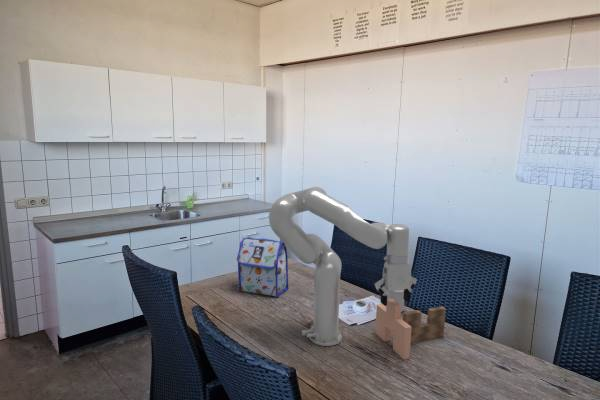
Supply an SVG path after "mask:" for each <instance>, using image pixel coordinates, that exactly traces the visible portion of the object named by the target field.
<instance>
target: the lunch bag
mask: <svg viewBox="0 0 600 400" xmlns="http://www.w3.org/2000/svg"><path fill="white" fill-rule="evenodd" d="M287 251H288V250H287V246H286V245H285V243H284V242H283V241H281V240H279V241H278V240H275V239H268V238H254V237H250V236H248V237H243V238H242V240H240V242H239V249H238V252H237V257H236V261H237V271H238V272H237V273H238V274H237V275H238V291H239V292H244V291H245V292H246V293H251V292H252V293H251V294H260V295H265V296H271V297H276V298H279V297H280V295H282V294H283V293H284V292H285V291H287V290H289V288H290V287H289V269H288V268H289V264H288V261H289V260H288V252H287Z"/></svg>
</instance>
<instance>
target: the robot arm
mask: <svg viewBox="0 0 600 400" xmlns="http://www.w3.org/2000/svg"><path fill="white" fill-rule="evenodd" d="M307 211H308V212H310V213H311V214H313V215H315V216H317V217H319V218H320V219H323V220H325V221H327V222H329V223H331V224H332V225H334V226H336V227H337V228H339V230H341V231H342V232H344V233H346V234H347V235H348V236H350V237H351V238H353V239H354V240H356V241H358V242H359V243H360V244H363V245H365V246H366V247H369V248H372V249H375V250H376V249H377V250H378V249H382V248H384V247H385V246H386V256H383V260H384V261H385V262H384V264H383V270H382V277H381V279H380V280H378V281H376V282H375V283H374V287H375V289H376V290H377V292H378V293H379V294H380V304H383V305H384V306H387V297H388V291H397V290H404V298H403V299H404V302H406V303H410V302H411V293H412V292H413V289H414V288H415V286H416V284H417V281H418V279H417V278H415V277H413V276H412V268H411V263H410V261H409V239H410V238H409V237H410V228H409V227H408V226H407V225H404V224H398V223H397V224H389V223H385V222H371V223H370V222H368V221H366V220H364V219H363V218H361V217H360V216H359V215H358V214H356V212H354V210H353V209H352V208H351V207H350V206H349V205H348V204H345V203H343V202H342V201H340V200H338V199H336V198H334V197H332V196H330V195H329V194H327V192H326V190H324V188H322V187H319V186H312V187H309V188H306V189H302V190H297V191H294V192H291V193H287V194H284V195H282V196H280V197H279V198H278V199H276V200H275V201H274V202H273V204H272V205H271V208H270V210H269V214H268V221H269V222H268V223H269V226H270V228H271V231H272V232H273V233H274V234H275V235H276V236H277V237H278V238H279V240H280V241H281V242H284V243H285V246H286V248H288V249H289V250H290V251H291V252H292V253H293V254H294V256H296V258H297V259H298V260H299V261H301V263H303V264H305V265H311V264H313V265H315V268H314V269H315V270H314V274H313V281H314V284H313V285H314V286H313V287H314V288H313V289H314V293H313V294H314V295H313V296H314V297H313V305H314V306H313V309H314V310H313V325H310V328H308V329H303V330H301V333H300V334H301V336H303V337H304V336H306V338H309V340H310V341H311V342H312V343H313V344H315V345H318V346H324V347H331V346H335V345H336V346H337V345H338V344H340V343H341V342H342V340H343V335H342V334H341V332H340V331H339V319H340V318H339V317H340V316H339V314H340V289H341V287H340V284H341V281H340V280H341V272H342V260H341V258H340V257H339V255H338V254H337V253H336V252H335V251H334V250H333V249H332V248H331V247H330V246H329V245H328V244H327V242H325V241H324V240H323V238H321V237H320V236H319V235H317V234H316V233H315V234H314V233H306V232H305V231H304V229H302V228H301V226H299V225H298V224H296V223H295V222H294V220H293V217H294V216H295V215H296V214H300V213H304V212H307ZM381 286H382V287H381Z"/></svg>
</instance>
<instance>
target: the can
mask: <svg viewBox="0 0 600 400" xmlns="http://www.w3.org/2000/svg"><path fill="white" fill-rule="evenodd" d="M403 298H404V290H397V291H388V293H387V300H389V299H393V300H395V301H396V302H397V303H399V304H400V305H401V313H402V312H404V310H405V300H404V299H403Z"/></svg>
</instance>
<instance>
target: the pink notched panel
mask: <svg viewBox="0 0 600 400" xmlns="http://www.w3.org/2000/svg"><path fill="white" fill-rule="evenodd" d="M375 313H376V314H375V329H374V331H375V332H374V333H375V334H376V335H377V336H378V337H379V338H380V339H381V340H382V341H384V342H389V341H391V333H392V334H393V339H392V340H393V342H392V350H393V351H394V352H395V353H396V354H397V355H398V356H399V358H401V359H402V360H408V359H409V360H410V358H411V356H410V355H411V344H412V343H411V330H412V327H411V326H410V325H409V324H407V323H406V322H405V321H403V318H402V312H401V305H400V304H399V303H397V302H396V301H395V300H393V299H389V300H387V306H384V305H383V304H382V303H380V304H376V311H375Z"/></svg>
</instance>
